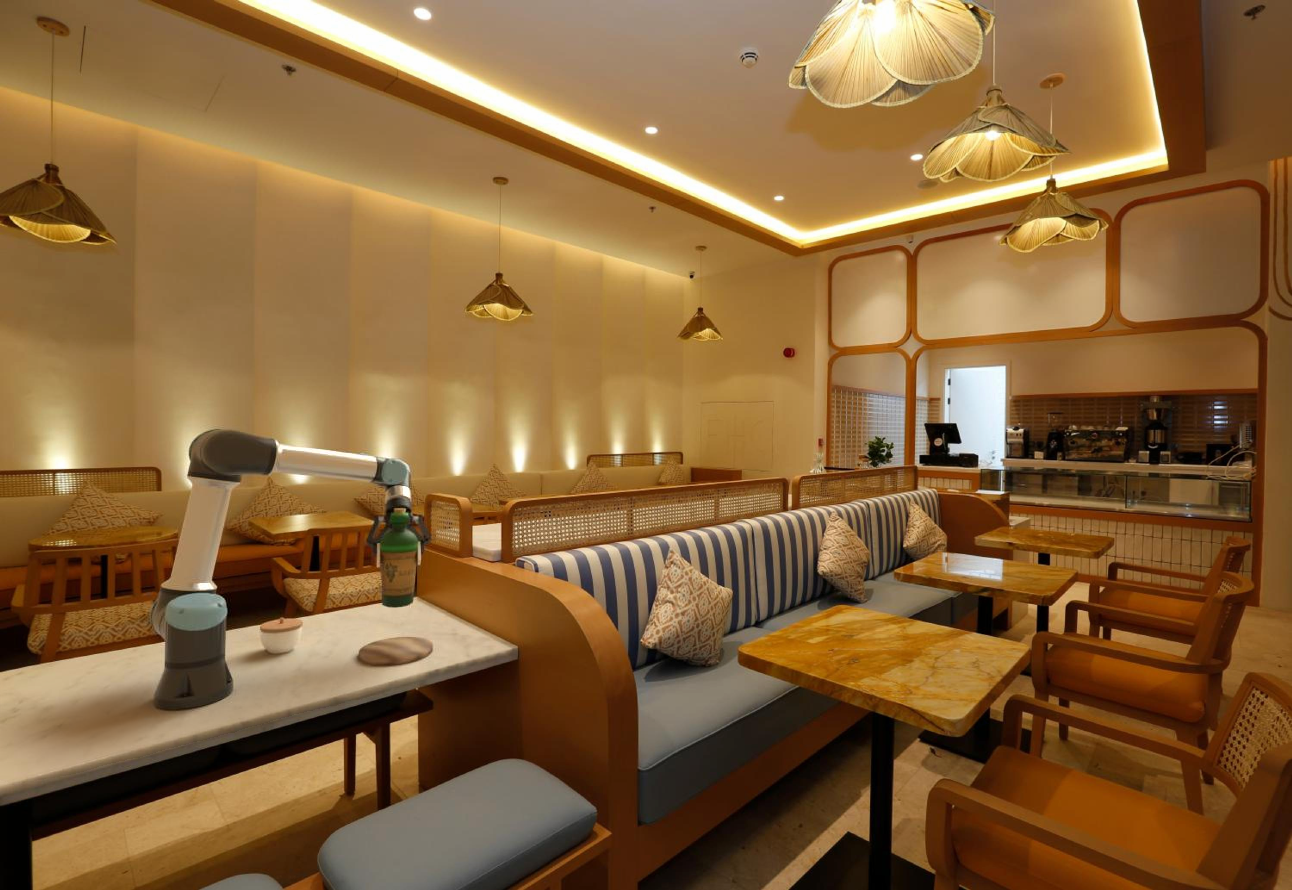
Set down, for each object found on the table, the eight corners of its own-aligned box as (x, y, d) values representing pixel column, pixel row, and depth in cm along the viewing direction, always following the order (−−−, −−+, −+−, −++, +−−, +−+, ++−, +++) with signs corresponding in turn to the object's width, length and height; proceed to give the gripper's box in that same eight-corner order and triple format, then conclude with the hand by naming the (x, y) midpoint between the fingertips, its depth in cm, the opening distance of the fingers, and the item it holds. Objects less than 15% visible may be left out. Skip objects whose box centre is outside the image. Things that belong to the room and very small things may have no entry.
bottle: (384, 611, 168) (386, 511, 168) (373, 603, 177) (375, 508, 177) (422, 605, 175) (424, 509, 175) (410, 597, 183) (412, 506, 183)
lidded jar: (287, 657, 171) (288, 624, 171) (250, 655, 171) (251, 622, 171) (309, 644, 181) (310, 613, 181) (274, 643, 182) (275, 612, 182)
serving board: (394, 670, 163) (394, 664, 163) (342, 657, 171) (342, 652, 171) (447, 648, 181) (447, 643, 181) (398, 637, 189) (398, 633, 189)
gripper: (436, 510, 195) (439, 568, 180) (358, 512, 185) (355, 573, 171) (438, 495, 190) (441, 553, 175) (357, 496, 180) (355, 558, 166)
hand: (399, 563), depth 173 cm, fingers closed on bottle, 10 cm apart
